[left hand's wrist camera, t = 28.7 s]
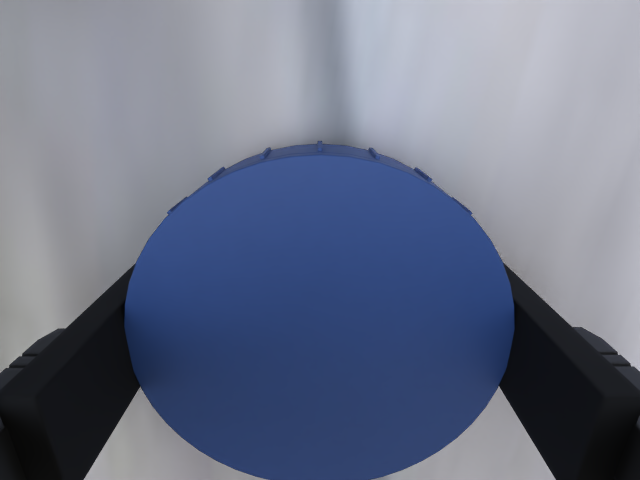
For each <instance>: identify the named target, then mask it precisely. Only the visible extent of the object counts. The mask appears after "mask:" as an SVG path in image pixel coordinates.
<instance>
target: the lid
mask: <svg viewBox="0 0 640 480" xmlns="http://www.w3.org/2000/svg"><path fill="white" fill-rule="evenodd" d="M208 180H209V181H208V182H206V183H205V184H204V185H203V186H201V187H200V188H199V189H198V190H196V191H195V192H194V193H193V194H191V195H190V196H189V197H185V198H184V199H183V200H182V201H180V202H179V203H178V204H177V205H175V206H174V207H173V208H171V209H170V210H169V211H168V212H167V213H168V214H169V215H168V216H167V217H166V218H165V219H164V220H163V221H162V223H161V224H160V225H159V227H158V228H157V229H156V230H155V232H154V233H153V234H152V236H151V237H150V238H149V240H148V241H147V243H146V245H145V247H144V249H143V250H142V252H141V254H140V256H139V258H138V260H137V262H136V265H135V267H134V270H133V273H132V276H131V279H130V281H129V285H128V291H127V296H126V302H125V317H124V328H125V333H126V339H127V343H128V348H129V353H130V357H131V362H132V366H133V371H134V373H135V375H136V377H137V380H138V382H139V384H140V386H141V388H142V390H143V392H144V393H145V395H146V397H147V398H148V400H149V401H150V403H151V404H152V406H153V407H154V409H155V410H156V411H157V412H158V413H159V415H160V416H161V417H162V418H163V420H164V421H165V422H166V423H167V424H168V425H169V426H170V427H171V428H172V429H173V430H174V431H175V432H176V433H177V434H179V435H180V436H181V437H182V438H183V439H184V440H186V441H187V442H188V443H190V444H191V445H192V446H194V447H195V448H196V449H198V450H199V451H201V452H203V453H204V454H206V455H208V456H209V457H211V458H213V459H214V460H216V461H218V462H220V463H222V464H225V465H227V466H229V467H231V468H233V469H235V470H238V471H241V472H244V473H247V474H250V475H253V476H256V477H260V478H264V479H268V480H371V479H375V478H379V477H383V476H386V475H389V474H392V473H395V472H398V471H401V470H403V469H406V468H408V467H410V466H412V465H414V464H417V463H419V462H421V461H423V460H424V459H426V458H428V457H430V456H431V455H433V454H435V453H436V452H438V451H440V450H441V449H443V448H444V447H445V446H447V445H448V444H449V443H451V442H452V441H453V440H455V439H456V438H457V437H458V436H459V435H460V434H461V433H462V432H464V431H465V430H466V429H467V428H468V427H469V426H470V425H471V424H472V423H473V422H474V421H475V419H476V418H477V417H478V416H479V415H480V413H481V412H482V411H483V410H484V409H485V407H486V406H487V404H488V403H489V401H490V400H491V398H492V396H493V395H494V393H495V392H496V390H497V388H498V386H499V384H500V382H501V379H502V377H503V375H504V373H505V371H506V368H507V363H508V359H509V355H510V350H511V345H512V340H513V335H514V329H515V323H514V302H513V297H512V291H511V286H510V282H509V279H508V276H507V273H506V270H505V268H504V265H503V262H502V260H501V258H500V256H499V254H498V252H497V251H496V249H495V247H494V245H493V243H492V241H491V240H490V238H489V237H488V236H487V235H486V233H485V232H484V231H483V229H482V228H481V227H480V225H479V224H478V223H477V221H476V220H475V219H474V218H473V217H472V216H471V214H472V212H471V211H470V210H468V209H467V208H466V207H465V206H463V205H462V204H461V203H460V202H458V201H457V200H456V199H455V198H453V197H452V198H451V197H450V196H449V195H448V194H446V193H445V192H444V191H443V190H441V189H440V188H439V187H438V186H436V185H435V184H434V183H432V182H431V181H432V179H431V178H430V177H429V176H427V175H426V174H425V173H423V172H422V171H421V170H420V169H418V168H415V169H412V168H410V167H408V166H406V165H404V164H402V163H400V162H398V161H396V160H394V159H392V158H389V157H386V156H384V155H381V154H378V153H377V152H376V151H375V150H374V149H373V148H369V150H364V149H359V148H354V147H350V146H343V145H329V144H322V141H318V144H310V145H295V146H290V147H285V148H280V149H275V150H271V148H267V149H266V150H265V151H264V152H263V153H261V154H258V155H255V156H252V157H250V158H247V159H245V160H243V161H241V162H239V163H237V164H235V165H233V166H231V167H229V168H227V169H225V168H224V167H222V168H221V169H219V170H218V171H217V172H216V173H214V174H213V175H212V176H210V177H209V178H208Z"/></svg>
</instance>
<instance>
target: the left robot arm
mask: <svg viewBox="0 0 640 480" xmlns="http://www.w3.org/2000/svg"><path fill="white" fill-rule="evenodd" d="M135 265H136V264H134V265H133V266H132V267H131V268H130V269H129V270H128V271H127V272H126V273H125V274H124V275H123V276H122V277H121V278H119V279H118V280H117V281H116V282H115V283H114V284H113V285H112V286H111V287H110V288H109V289H108V290H107V291H106V292H104V293H103V294H102V295H101V296H100V297H99V298H98V299H97V300H96V301H95V302H94V303H93V304H92V305H91V306H90V307H88V308H87V309H86V310H85V311H84V312H83V313H82V314H81V315H80V316H79V317H78V318H77V319H76V320H75V321H73V322H72V323H71V324H70V325H69V326H68V327H67V328H66V329H57V330H55V331H53V332H52V333H50V334H48V335H46V336H44V337H43V338H41V339H39V340H37V341H36V342H35V343H34V344H33V345H32V346H31V347H29V348H28V349H27V350H26V351H25V352H24V353H23V354H22V357H18V358H17V359H16V360H15V361H14V362H12V363H11V364H10V365H9V368H6V369H5V370H3V371H2V372H1V373H0V480H84V478H85V476H86V475H87V473H88V472H89V470H90V468H91V467H92V465H93V463H94V462H95V460H96V458H97V457H98V455H99V453H100V452H101V450H102V448H103V447H104V445H105V444H106V442H107V440H108V439H109V437H110V435H111V434H112V432H113V430H114V429H115V427H116V425H117V424H118V422H119V421H120V419H121V417H122V416H123V414H124V412H125V411H126V409H127V407H128V406H129V404H130V402H131V401H132V399H133V397H134V396H135V394H136V393H137V391H138V389H139V388H140V384H139V382H138V380H137V377H136V375H135V373H134V371H133V366H132V362H131V357H130V353H129V348H128V343H127V339H126V333H125V328H124V317H125V302H126V296H127V291H128V285H129V281H130V279H131V276H132V273H133V270H134V267H135ZM503 265H504V268H505V270H506V273H507V276H508V279H509V282H510V286H511V291H512V297H513V302H514V323H515V329H514V335H513V340H512V345H511V350H510V355H509V359H508V363H507V368H506V371H505V373H504V375H503V377H502V379H501V382H500V384H499V387H500V388H501V390H502V392H503V393H504V395H505V397H506V398H507V400H508V401H509V403H510V405H511V406H512V408H513V410H514V411H515V413H516V415H517V416H518V418H519V420H520V421H521V423H522V425H523V426H524V428H525V429H526V431H527V433H528V434H529V436H530V438H531V439H532V441H533V443H534V444H535V446H536V448H537V449H538V451H539V452H540V454H541V456H542V457H543V459H544V461H545V462H546V464H547V466H548V467H549V469H550V471H551V472H552V474H553V476H554V477H555V479H556V480H640V372H639V371H638V370H637V369H636V368H635V367H631V365H630V363H629V362H628V361H627V360H626V359H625V358H624V357H622V356H621V355H618V352H617V351H616V350H614V349H613V348H612V347H611V346H610V345H609V344H608V343H606V342H605V341H604V340H603V339H602V338H600V337H598V336H596V335H594V334H593V333H591V332H589V331H587V330H585V329H584V328H582V327H571V326H570V325H569V324H568V323H567V322H566V321H565V320H564V319H563V318H562V317H561V316H560V315H559V314H558V313H556V312H555V311H554V310H553V309H552V308H551V307H550V306H549V305H548V304H547V303H546V302H545V301H544V300H543V299H541V298H540V297H539V296H538V295H537V294H536V293H535V292H534V291H533V290H532V289H531V288H530V287H529V286H528V285H526V284H525V283H524V282H523V281H522V280H521V279H520V278H519V277H518V276H517V275H516V274H515V273H514V272H513V271H512V270H510V269H509V268H508V267H507V266H506V265H505V264H504V263H503Z"/></svg>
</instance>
